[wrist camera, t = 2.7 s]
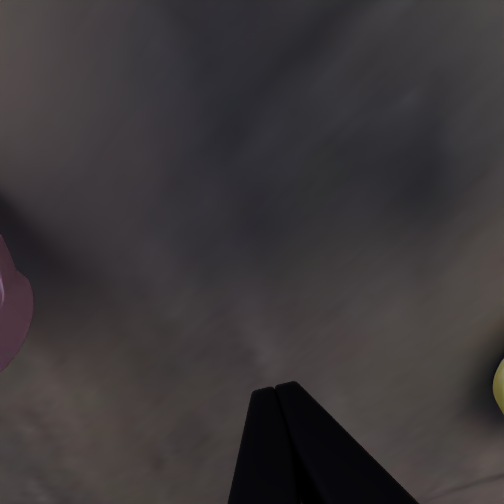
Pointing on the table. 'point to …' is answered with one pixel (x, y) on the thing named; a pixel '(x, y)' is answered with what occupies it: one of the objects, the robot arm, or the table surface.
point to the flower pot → (499, 386)
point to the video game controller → (13, 307)
